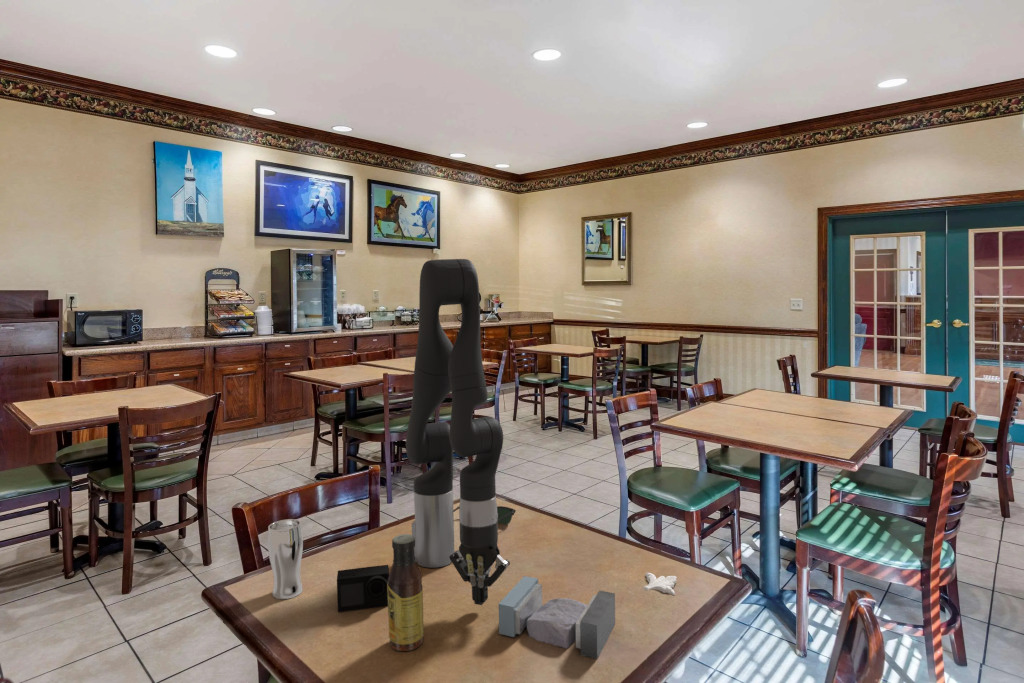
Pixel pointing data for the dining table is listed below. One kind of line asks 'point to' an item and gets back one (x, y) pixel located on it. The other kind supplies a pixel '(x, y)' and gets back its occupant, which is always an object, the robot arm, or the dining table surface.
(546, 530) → the dining table surface
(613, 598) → the block
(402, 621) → the sauce bottle
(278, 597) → the beer glass
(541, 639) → the stone block
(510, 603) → the block
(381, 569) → the digital camera
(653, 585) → the acanthus leaf ornament
